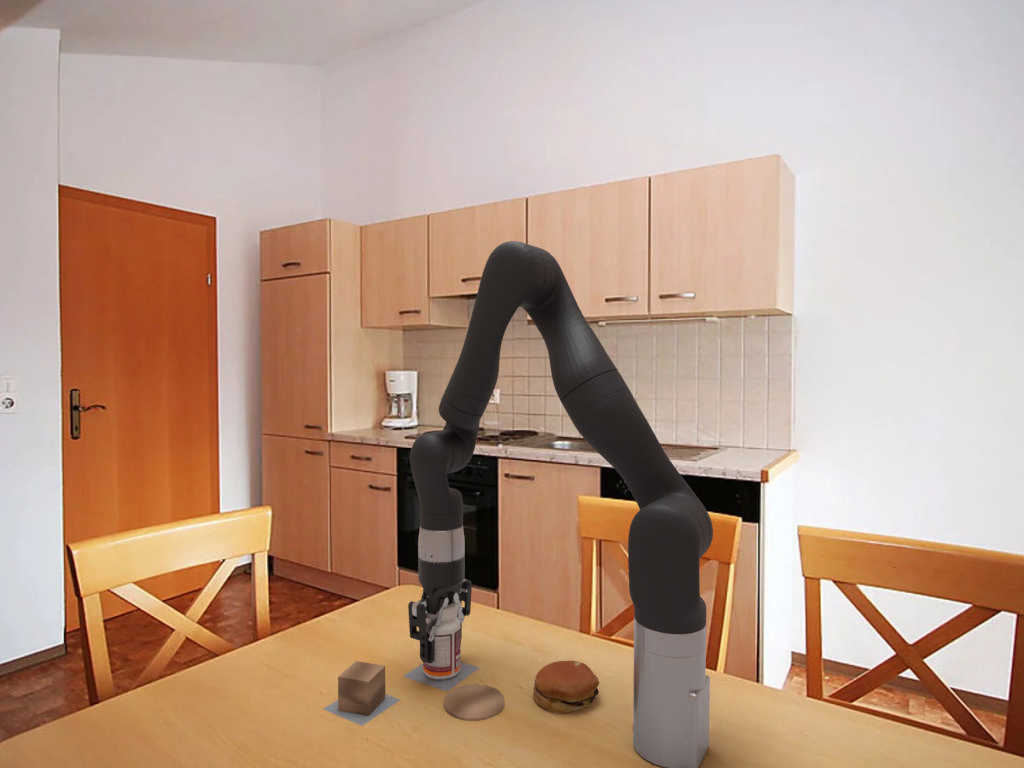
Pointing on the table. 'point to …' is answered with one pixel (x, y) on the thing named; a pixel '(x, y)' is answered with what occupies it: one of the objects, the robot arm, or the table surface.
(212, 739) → the table surface
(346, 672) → the walnut block
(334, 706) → the code tile
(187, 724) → the table surface
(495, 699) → the coaster
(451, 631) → the pill bottle
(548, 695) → the burger
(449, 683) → the code tile
